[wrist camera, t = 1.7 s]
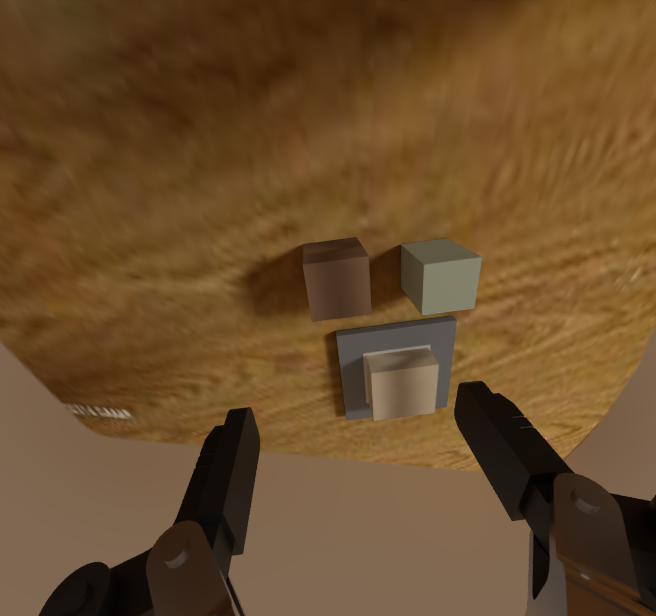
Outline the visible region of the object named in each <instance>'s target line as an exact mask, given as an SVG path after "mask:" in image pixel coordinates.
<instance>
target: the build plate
mask: <svg viewBox="0 0 656 616" xmlns="http://www.w3.org/2000/svg"><path fill="white" fill-rule="evenodd" d="M456 321H457V320H456V319H455V318H454V317H453V316H448V317H440V318H433V319H425V320H418V321H410V322H403V323H395V324H387V325H380V326H372V327H365V328H357V329H350V330H342V331H336V339H337V347H338V355H339V364H340V372H341V380H342V389H343V397H344V405H345V414H346V420H354V419H361V418H368V417H373V416H372V412H371V408H370V404H369V398H368V382H367V366H366V356H367V355H374V354H382V353H389V352H397V351H404V350H412V349H420V348H427V347H428V348H429V350H430V352H431V353H432V355H433V356H434V358H435V359H436V361H437V362H438V364H439V370H438V381H437V392H436V403H435V408H443V407H447V399H448V390H449V381H450V373H451V364H452V356H453V347H454V338H455V330H456Z"/></svg>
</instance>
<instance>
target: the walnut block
mask: <svg viewBox="0 0 656 616" xmlns="http://www.w3.org/2000/svg"><path fill="white" fill-rule="evenodd" d="M303 270H304V276H305V282H306V288H307V295H308V301H309V307H310V313H311V319H312V322H315V321H322V320H330V319H338V318H345V317H353V316H360V315H368V314H372V312H371V292H370V271H369V256H368V254H367V253H366V251H365V250H364V248H363V246H362V245H361V243H360V242H359V240H358V239H357V237H354V238H347V239H339V240H332V241H324V242H316V243H309V244H304V247H303Z"/></svg>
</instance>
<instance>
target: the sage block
mask: <svg viewBox="0 0 656 616" xmlns="http://www.w3.org/2000/svg"><path fill="white" fill-rule="evenodd" d="M481 260H482V257H481V256H479V255H477V254H475V253H474V252H472V251H470V250H468V249H466V248H464V247H462V246H461V245H459V244H457V243H455V242H453V241H451V240H449V239H448V238H447V239H439V240H432V241H424V242H416V243H409V244H401V288H402V290H403V291H404V292H405V294H406V295H407V296H408V298H409V299H410V300H411V302H412V303H413V304H414V306H415V307H416V308H417V310H418V311H419V312H420V314H421V315H427V314H435V313H443V312H450V311H458V310H465V309H473V308H475V301H476V294H477V287H478V281H479V274H480V267H481Z"/></svg>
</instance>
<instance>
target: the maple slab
mask: <svg viewBox="0 0 656 616" xmlns="http://www.w3.org/2000/svg"><path fill="white" fill-rule="evenodd" d="M366 366H367V382H368V398H369V404H370V408H371V412H372V416H373V420H374V421H377V420H384V419H392V418H399V417H407V416H414V415H421V414H429V413H435V403H436V392H437V381H438V370H439V364H438V362H437V361H436V359H435V358H434V356H433V355H432V353H431V352H430V350H429V348H428V347H427V348H420V349H412V350H404V351H397V352H389V353H382V354H374V355H367V356H366Z"/></svg>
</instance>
